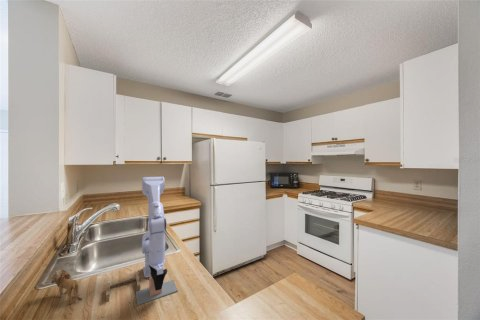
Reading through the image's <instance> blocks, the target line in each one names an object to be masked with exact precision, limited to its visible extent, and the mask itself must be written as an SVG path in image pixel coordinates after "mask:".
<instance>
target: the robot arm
mask: <svg viewBox="0 0 480 320" xmlns="http://www.w3.org/2000/svg"><path fill="white" fill-rule="evenodd" d="M141 181H142V182H141V189H142V190H141V191H142V192H141V193H142V195H144V196H146V198H147V202H148V203H147V206H148V207H147V208H148V212H147V213H148V214H147V215H148V221H147V231H146V233H144V234H143V235H142V237H141V253H142V254H144V266H143V267H142V271H143V276H144V278H145V279H147V278H149V275H151V277H152V278H153V280H154V286H155V290H156V291H157V290H160V289H162V285H163V283H164V281H165V277H166V275H167V274H168V269H167V268H164V266H165V263H166V232H167V229H168V227H167V226H168V225H167V224H168V222H167V218H166V215H165V210H164V205H163V203H162V202H160V201H161V200H160V199H161V195H162V194H164V190H165V186H166V184H165V183H166V182H165V181H166V180H165V177H164V176H163V175H162V176H143V177H142V178H141Z"/></svg>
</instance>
